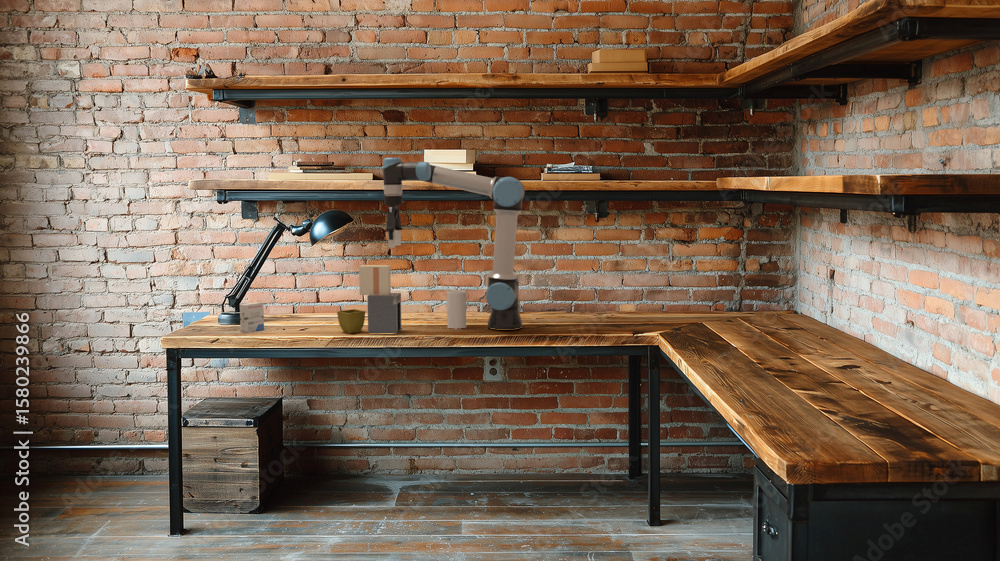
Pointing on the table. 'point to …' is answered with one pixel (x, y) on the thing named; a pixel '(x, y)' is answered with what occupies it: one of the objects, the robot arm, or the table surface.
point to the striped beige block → (375, 279)
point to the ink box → (251, 317)
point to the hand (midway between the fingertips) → (394, 246)
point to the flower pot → (351, 320)
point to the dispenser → (384, 313)
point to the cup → (456, 309)
